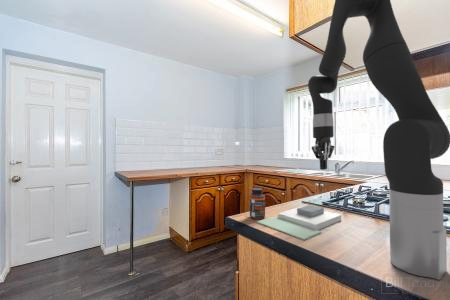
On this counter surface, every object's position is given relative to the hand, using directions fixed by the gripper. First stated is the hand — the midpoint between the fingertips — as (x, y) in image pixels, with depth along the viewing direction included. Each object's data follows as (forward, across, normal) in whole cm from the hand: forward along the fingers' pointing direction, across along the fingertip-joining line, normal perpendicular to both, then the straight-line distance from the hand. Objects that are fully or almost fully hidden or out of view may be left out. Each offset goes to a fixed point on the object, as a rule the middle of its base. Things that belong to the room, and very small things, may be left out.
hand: (323, 169), depth 90 cm
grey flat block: (+16, -10, 0) cm, 19 cm away
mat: (+18, -23, 0) cm, 29 cm away
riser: (+18, -10, 0) cm, 21 cm away
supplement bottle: (+18, -24, +14) cm, 33 cm away
